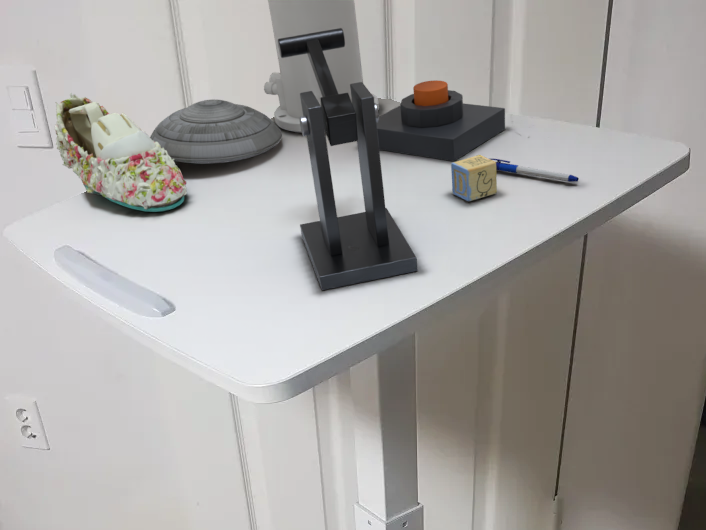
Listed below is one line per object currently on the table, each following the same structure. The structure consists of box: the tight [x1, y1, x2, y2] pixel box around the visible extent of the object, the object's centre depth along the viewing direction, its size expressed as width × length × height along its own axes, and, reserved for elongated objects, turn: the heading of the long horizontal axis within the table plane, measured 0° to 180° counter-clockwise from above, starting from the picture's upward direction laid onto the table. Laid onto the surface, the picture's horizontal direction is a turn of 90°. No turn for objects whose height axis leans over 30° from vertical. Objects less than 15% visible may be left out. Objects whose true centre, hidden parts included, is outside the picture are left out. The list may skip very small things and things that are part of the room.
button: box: [412, 80, 449, 106], centre depth 89 cm, size 4×4×2 cm
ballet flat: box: [54, 92, 188, 213], centre depth 89 cm, size 9×25×8 cm, turn 39°
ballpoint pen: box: [490, 158, 579, 183], centre depth 80 cm, size 10×1×1 cm, turn 52°
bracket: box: [299, 82, 418, 291], centre depth 68 cm, size 11×8×13 cm
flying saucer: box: [149, 98, 283, 165], centre depth 94 cm, size 15×15×6 cm
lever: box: [278, 28, 358, 147], centre depth 68 cm, size 13×6×2 cm, turn 12°
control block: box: [377, 89, 506, 162], centre depth 90 cm, size 12×10×4 cm
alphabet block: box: [450, 154, 498, 202], centre depth 78 cm, size 3×3×3 cm
